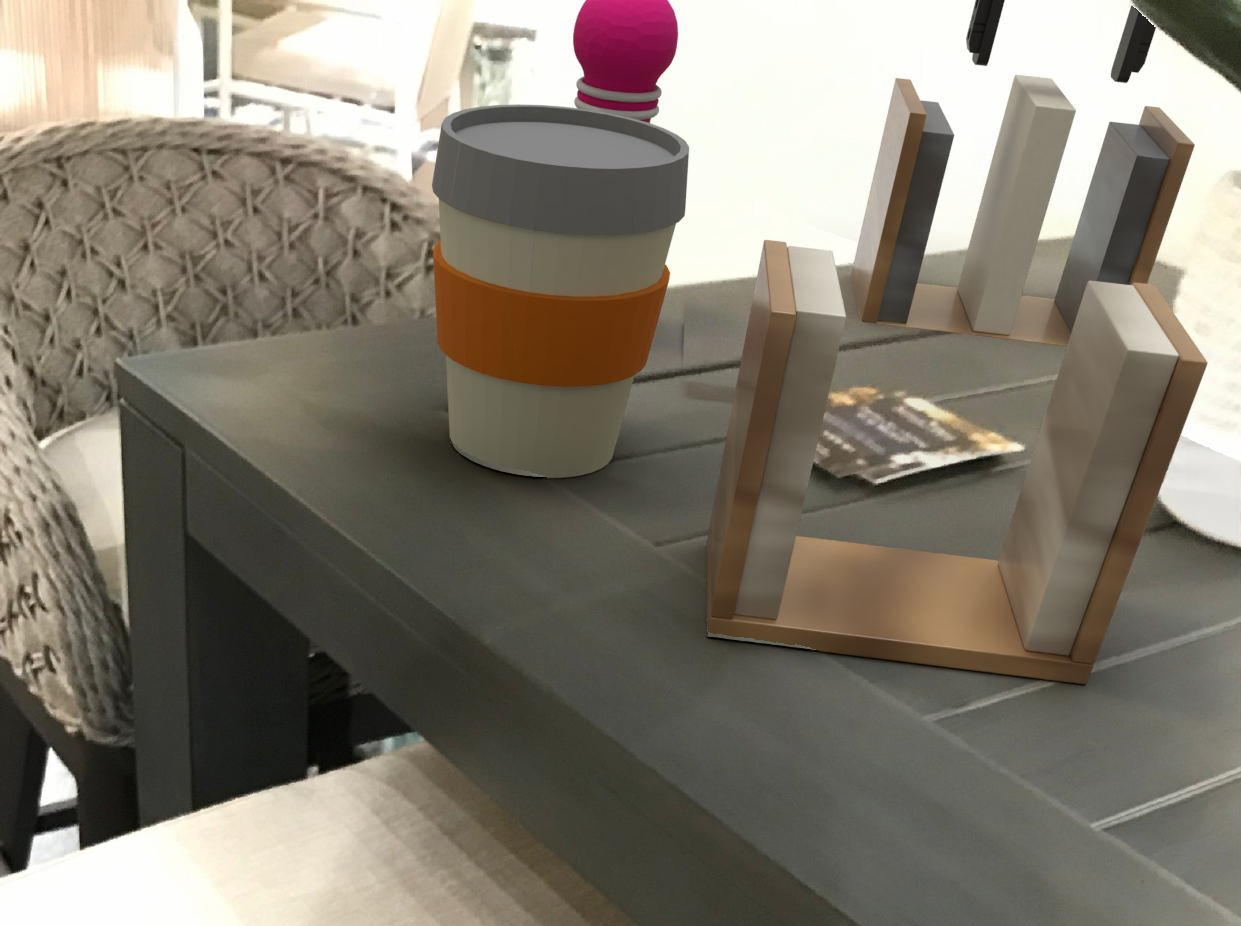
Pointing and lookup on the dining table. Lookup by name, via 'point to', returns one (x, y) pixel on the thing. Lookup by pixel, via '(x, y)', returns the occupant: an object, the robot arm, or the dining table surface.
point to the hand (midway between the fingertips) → (1049, 71)
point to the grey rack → (1101, 248)
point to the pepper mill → (623, 55)
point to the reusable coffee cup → (550, 276)
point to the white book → (1014, 202)
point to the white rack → (932, 582)
